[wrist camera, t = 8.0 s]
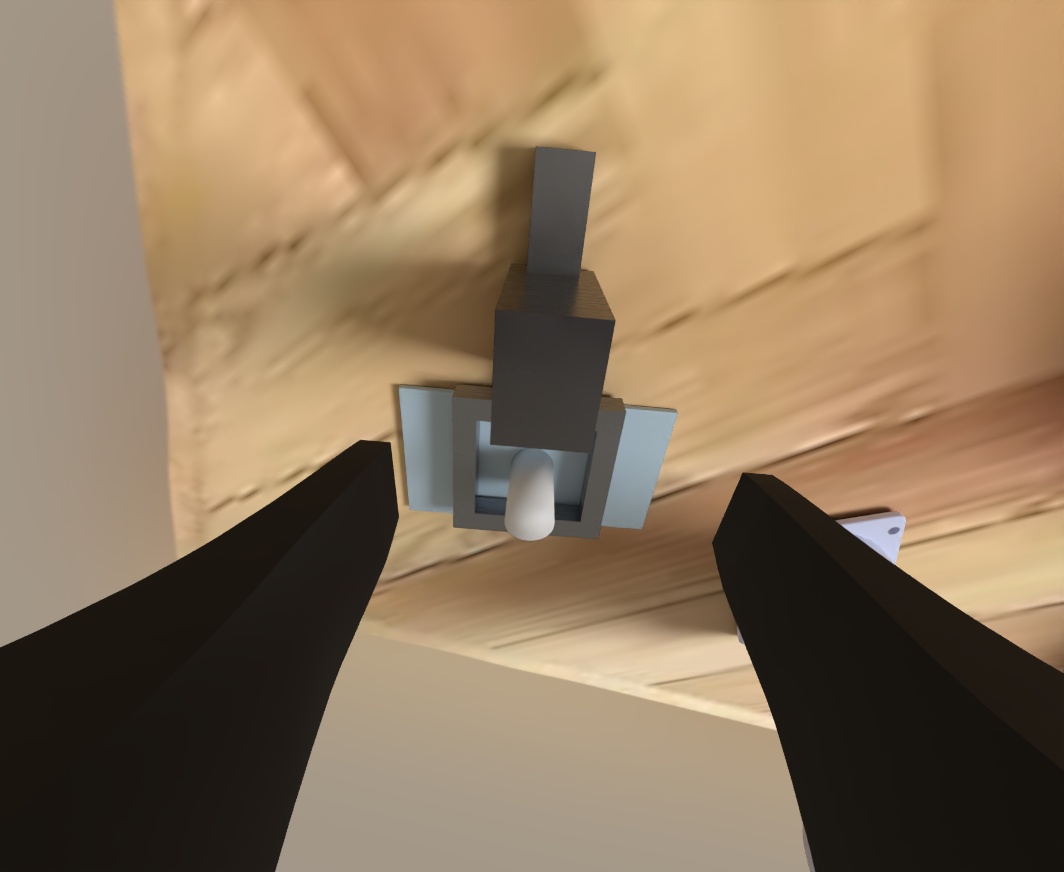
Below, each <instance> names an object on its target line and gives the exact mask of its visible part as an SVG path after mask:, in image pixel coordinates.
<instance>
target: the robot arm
mask: <svg viewBox="0 0 1064 872" xmlns="http://www.w3.org/2000/svg"><path fill="white" fill-rule="evenodd" d="M398 519H399V513H398V504H397V495H396V487H395V478H394V469H393V460H392V451H391V442H380V441H368V440H359V441H358V442H356V443H355V444H353V445H352V446H350V447H349V448H348V449H346V450H345V451H343V452H342V453H341V454H339V455H338V456H336V457H335V458H334V459H332V460H331V461H330V462H328V463H327V464H325V465H324V466H323V467H321V468H320V469H318V470H317V471H316V472H314V473H313V474H312V475H310V476H309V477H307V478H306V479H304V480H303V481H302V482H300V483H299V484H297V485H296V486H294V487H293V488H292V489H290V490H289V491H287V492H286V493H285V494H283V495H282V496H280V497H279V498H277V499H276V500H274V501H273V502H271V503H270V504H268V505H267V506H265V507H264V508H262V509H261V510H259V511H257V512H256V513H254V514H253V515H251V516H250V517H248V518H247V519H245V520H243V521H242V522H240V523H239V524H237V525H236V526H234V527H233V528H231V529H229V530H228V531H226V532H225V533H223V534H222V535H220V536H218V537H217V538H215V539H213V540H212V541H210V542H208V543H207V544H205V545H203V546H202V547H200V548H198V549H197V550H195V551H193V552H191V553H190V554H188V555H186V556H184V557H183V558H181V559H179V560H177V561H175V562H174V563H172V564H170V565H168V566H166V567H164V568H163V569H161V570H159V571H157V572H155V573H154V574H152V575H150V576H148V577H146V578H144V579H142V580H140V581H138V582H137V583H135V584H133V585H131V586H129V587H127V588H125V589H123V590H121V591H119V592H117V593H114V594H112V595H110V596H108V597H106V598H104V599H102V600H100V601H98V602H96V603H94V604H92V605H90V606H88V607H86V608H84V609H82V610H80V611H77V612H75V613H73V614H71V615H69V616H67V617H65V618H63V619H61V620H59V621H57V622H55V623H53V624H51V625H49V626H47V627H45V628H43V629H40V630H38V631H36V632H34V633H32V634H29V635H27V636H25V637H23V638H21V639H18V640H16V641H14V642H11V643H9V644H7V645H5V646H3V647H0V872H275V870H276V866H277V863H278V860H279V856H280V853H281V849H282V846H283V842H284V839H285V835H286V832H287V828H288V825H289V822H290V818H291V815H292V812H293V808H294V805H295V802H296V799H297V796H298V792H299V789H300V786H301V783H302V779H303V776H304V773H305V770H306V767H307V763H308V760H309V757H310V754H311V751H312V747H313V744H314V741H315V738H316V735H317V732H318V729H319V726H320V723H321V720H322V717H323V714H324V711H325V708H326V705H327V702H328V699H329V696H330V693H331V690H332V687H333V685H334V682H335V680H336V677H337V675H338V672H339V669H340V667H341V664H342V662H343V660H344V658H345V655H346V653H347V651H348V648H349V646H350V644H351V642H352V639H353V637H354V635H355V632H356V630H357V628H358V626H359V623H360V621H361V619H362V616H363V614H364V612H365V609H366V607H367V605H368V603H369V600H370V598H371V596H372V593H373V591H374V589H375V586H376V584H377V582H378V579H379V577H380V575H381V572H382V570H383V568H384V565H385V563H386V560H387V557H388V554H389V550H390V547H391V544H392V540H393V537H394V533H395V529H396V526H397V522H398ZM905 523H906V518H905V517H904V516H903V515H902V514H901V513H900V512H897V511H892V512H885V513H879V514H873V515H866V516H860V517H854V518H847V519H841V520H834V519H833V518H831V517H830V516H829V515H827V514H826V513H825V512H823V511H822V510H821V509H819V508H818V507H817V506H815V505H814V504H813V503H811V502H810V501H809V500H807V499H806V498H805V497H803V496H802V495H801V494H799V493H798V492H797V491H795V490H794V489H792V488H791V487H790V486H788V485H787V484H785V483H784V482H782V481H781V480H779V479H778V478H776V477H775V476H773V475H766V474H755V473H742V475H741V478H740V480H739V482H738V485H737V487H736V489H735V491H734V494H733V496H732V498H731V501H730V503H729V505H728V508H727V510H726V512H725V514H724V517H723V519H722V521H721V524H720V526H719V528H718V531H717V533H716V535H715V537H714V540H713V542H712V544H713V549H714V553H715V558H716V562H717V567H718V571H719V574H720V578H721V582H722V586H723V589H724V592H725V595H726V597H727V600H728V603H729V605H730V608H731V610H732V613H733V616H734V618H735V621H736V623H737V637H738V639H739V642H740V643H742V644H745V646H746V649H747V651H748V654H749V656H750V659H751V661H752V664H753V666H754V669H755V671H756V674H757V676H758V679H759V681H760V684H761V686H762V689H763V691H764V694H765V696H766V699H767V702H768V705H769V708H770V710H771V713H772V716H773V719H774V722H775V725H776V728H777V731H778V735H779V738H780V742H781V745H782V749H783V752H784V755H785V759H786V762H787V766H788V769H789V773H790V776H791V780H792V783H793V787H794V791H795V794H796V798H797V802H798V806H799V810H800V813H801V817H802V821H803V842H804V848H805V853H806V858H807V861H808V865H809V869H810V872H1064V673H1062V672H1060V671H1059V670H1057V669H1055V668H1053V667H1052V666H1050V665H1048V664H1047V663H1045V662H1043V661H1041V660H1040V659H1038V658H1036V657H1035V656H1033V655H1031V654H1030V653H1028V652H1026V651H1025V650H1023V649H1022V648H1020V647H1018V646H1017V645H1015V644H1014V643H1012V642H1010V641H1009V640H1007V639H1005V638H1004V637H1002V636H1001V635H999V634H997V633H996V632H994V631H993V630H991V629H989V628H988V627H986V626H985V625H983V624H981V623H980V622H978V621H976V620H975V619H973V618H972V617H970V616H969V615H967V614H966V613H964V612H963V611H961V610H960V609H958V608H956V607H955V606H953V605H952V604H950V603H949V602H947V601H946V600H944V599H943V598H942V597H940V596H939V595H937V594H936V593H934V592H933V591H931V590H930V589H929V588H927V587H926V586H924V585H923V584H921V583H920V582H918V581H917V580H916V579H914V578H913V577H911V576H910V575H908V574H907V573H905V572H904V571H903V570H901V569H900V568H898V567H897V566H896V565H895V563H896V559H897V555H898V551H899V547H900V543H901V539H902V535H903V531H904V527H905Z"/></svg>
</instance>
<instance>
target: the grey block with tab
mask: <svg viewBox="0 0 1064 872" xmlns="http://www.w3.org/2000/svg"><path fill="white" fill-rule="evenodd" d="M595 156H596V152H588V151H578V150H568V149H558V148H548V147H538V146H536V155H535V168H534V182H533V195H532V208H531V222H530V235H529V249H528V262H527V265H520V264H511V267H510V270H509V272H508V275H507V278H506V281H505V284H504V287H503V289H502V292H501V295H500V298H499V301H498V304H497V306H496V309H495V333H494V357H493V382H492V387H484V386H472V385H461V384H457V386H456V388H455V391H454V393H453V395H452V445H453V527H455V528H467V529H480V530H492V531H504V532H508V531H507V529H506V527H505V512H506V504H507V499H496V498H484V497H478V475H479V437H480V421H485V422H491V430H490V445H498V446H510V447H522V448H533V449H545V450H557V451H568V452H580V453H588V458H587V463H586V469H585V474H584V480H583V485H582V491H581V497H580V502H579V505H569V504H557V503H554V522H555V523H554V528H553V530H552V532H551V533H550V534H549V535H553V536H566V537H578V538H590V539H598V538H599V533H600V529H601V524H602V520H603V515H604V511H605V506H606V502H607V497H608V493H609V488H610V483H611V479H612V474H613V470H614V465H615V461H616V456H617V452H618V447H619V443H620V438H621V434H622V429H623V425H624V420H625V416H626V410H625V407H624V403H623V400H622V399H620V398H609V397H601V396H602V391H603V385H604V380H605V375H606V369H607V364H608V358H609V353H610V347H611V342H612V337H613V331H614V326H615V318H614V316H613V314H612V312H611V309H610V307H609V305H608V303H607V300H606V298H605V296H604V294H603V291H602V289H601V287H600V285H599V283H598V280H597V278H596V276H595V274H594V271H583V270H580V268H581V260H582V253H583V246H584V238H585V231H586V223H587V216H588V208H589V201H590V193H591V186H592V179H593V171H594V164H595Z"/></svg>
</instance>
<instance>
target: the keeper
mask: <svg viewBox="0 0 1064 872" xmlns="http://www.w3.org/2000/svg"><path fill="white" fill-rule="evenodd" d="M454 391H455V390H454V389H443V388H431V387H420V386H409V385H400V387H399V397H400V408H401V419H402V430H403V441H404V453H405V464H406V475H407V486H408V498H409V509H410V510H417V511H429V512H441V513H453V445H452V395H453V393H454ZM624 407H625V410H626V416H625V420H624V425H623V429H622V434H621V438H620V443H619V447H618V452H617V456H616V461H615V465H614V470H613V474H612V479H611V483H610V488H609V493H608V497H607V502H606V506H605V511H604V515H603V520H602V524H601V526H608V527H620V528H631V529H642V528H643V524H644V521H645V518H646V515H647V511H648V508H649V505H650V502H651V498H652V495H653V492H654V489H655V486H656V482H657V479H658V476H659V473H660V469H661V466H662V463H663V460H664V456H665V453H666V450H667V447H668V443H669V440H670V437H671V434H672V431H673V427H674V424H675V421H676V418H677V414H678V412H677V410H675V409H664V408H653V407H642V406H631V405H624ZM490 430H491V422H485V421H480V437H479V475H478V497H484V498H496V499H507V504H506V512H505V527H506V529H507V531H508V532H509V533H510V534H511V535H513V536H514V537H516V538H518V539H521V540H527V541H534V540H539V539H542V538H544V537H546V536H548V535H549V534H550V533H551V532H552V530H553V528H554V523H555V522H554V503H557V504H569V505H579V502H580V497H581V491H582V485H583V480H584V474H585V469H586V463H587V458H588V453H580V452H568V451H557V450H545V449H533V448H522V447H510V446H498V445H490Z"/></svg>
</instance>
